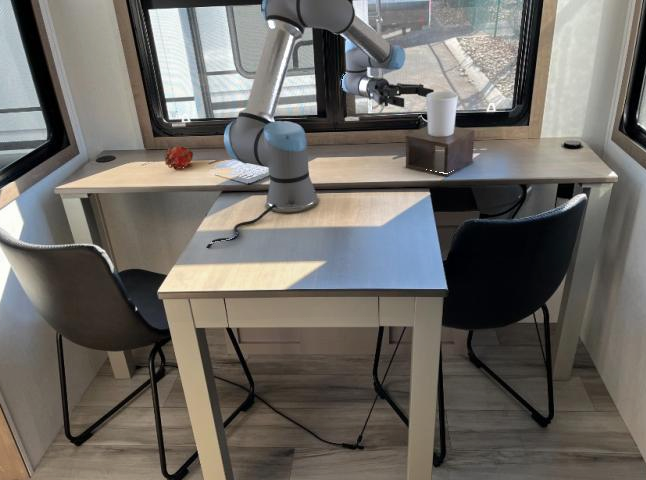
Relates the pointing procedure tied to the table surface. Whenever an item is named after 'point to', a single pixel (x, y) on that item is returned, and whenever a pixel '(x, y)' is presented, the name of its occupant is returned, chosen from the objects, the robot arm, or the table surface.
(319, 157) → the table surface
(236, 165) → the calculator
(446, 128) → the candle holder
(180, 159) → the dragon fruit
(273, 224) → the table surface
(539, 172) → the table surface
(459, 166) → the dark brown cubby box
